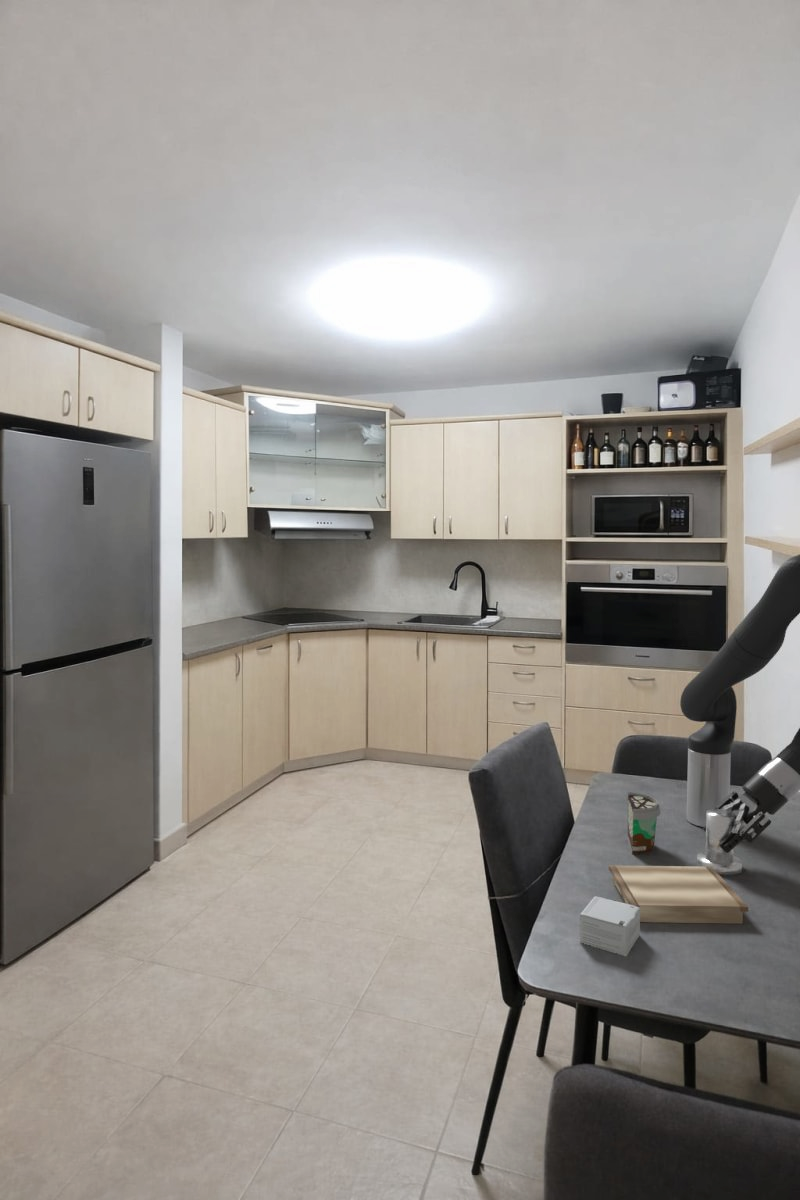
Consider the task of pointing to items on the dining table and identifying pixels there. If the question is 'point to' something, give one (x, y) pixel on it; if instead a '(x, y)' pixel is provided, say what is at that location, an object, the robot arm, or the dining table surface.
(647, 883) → the stand
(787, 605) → the robot arm
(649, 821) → the food container
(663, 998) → the dining table surface
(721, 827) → the bell jar
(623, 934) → the small box
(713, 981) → the dining table surface
